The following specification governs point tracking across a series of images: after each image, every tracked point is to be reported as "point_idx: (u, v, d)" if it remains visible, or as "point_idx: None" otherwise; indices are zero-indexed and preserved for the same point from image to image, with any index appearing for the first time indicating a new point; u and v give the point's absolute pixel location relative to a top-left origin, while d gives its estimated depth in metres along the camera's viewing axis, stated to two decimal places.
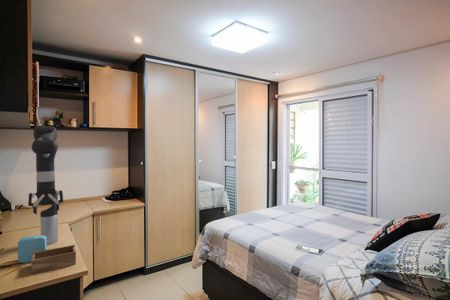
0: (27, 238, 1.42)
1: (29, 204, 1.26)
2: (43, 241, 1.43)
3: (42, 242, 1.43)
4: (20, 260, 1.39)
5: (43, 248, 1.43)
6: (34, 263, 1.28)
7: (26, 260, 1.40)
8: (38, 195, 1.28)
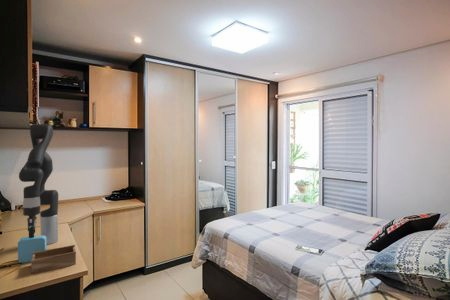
0: (27, 238, 1.42)
1: (33, 228, 1.37)
2: (43, 241, 1.43)
3: (42, 242, 1.43)
4: (20, 260, 1.39)
5: (43, 248, 1.43)
6: (34, 263, 1.28)
7: (26, 260, 1.40)
8: (33, 219, 1.40)
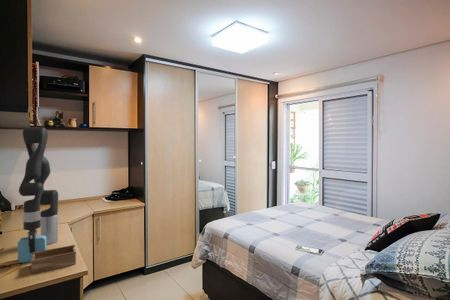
0: (27, 238, 1.42)
1: (34, 243, 1.39)
2: (43, 241, 1.43)
3: (42, 242, 1.43)
4: (20, 260, 1.39)
5: (43, 248, 1.43)
6: (34, 263, 1.28)
7: (26, 260, 1.40)
8: (34, 234, 1.41)
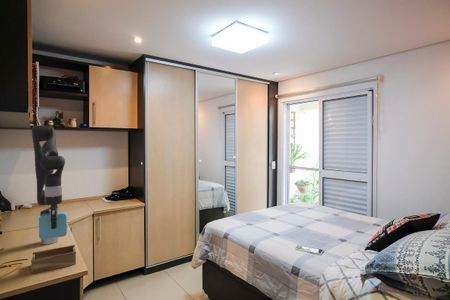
0: (48, 214, 1.36)
1: (56, 219, 1.33)
2: (65, 217, 1.37)
3: (64, 218, 1.37)
4: (41, 236, 1.33)
5: (65, 224, 1.37)
6: (34, 263, 1.28)
7: (47, 236, 1.34)
8: (56, 210, 1.35)
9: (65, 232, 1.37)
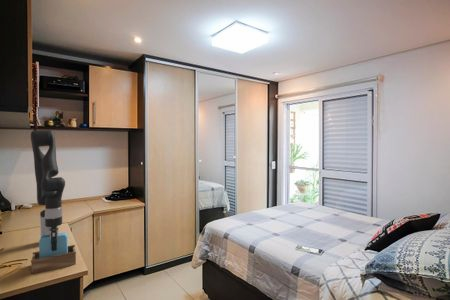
0: (48, 235, 1.36)
1: (56, 241, 1.33)
2: (65, 238, 1.37)
3: (64, 239, 1.37)
4: None
5: (65, 246, 1.37)
6: (34, 263, 1.28)
7: None
8: (56, 232, 1.35)
9: None
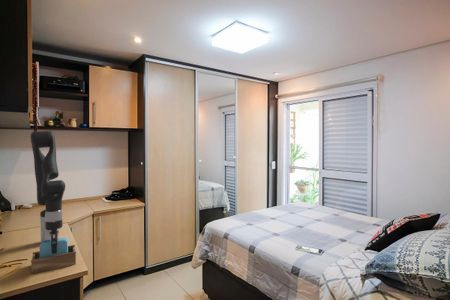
0: (49, 240, 1.36)
1: (56, 243, 1.32)
2: (65, 243, 1.38)
3: (64, 244, 1.37)
4: None
5: (65, 251, 1.38)
6: (34, 263, 1.28)
7: None
8: (56, 234, 1.35)
9: None
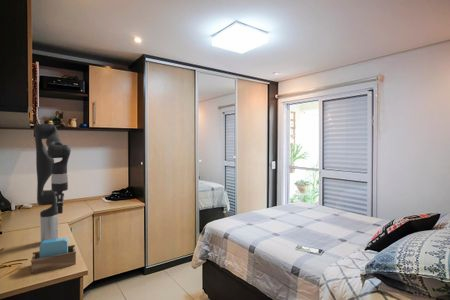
0: (49, 241, 1.36)
1: (62, 204, 1.38)
2: (65, 243, 1.38)
3: (64, 244, 1.37)
4: None
5: (65, 251, 1.38)
6: (34, 263, 1.28)
7: None
8: None
9: None
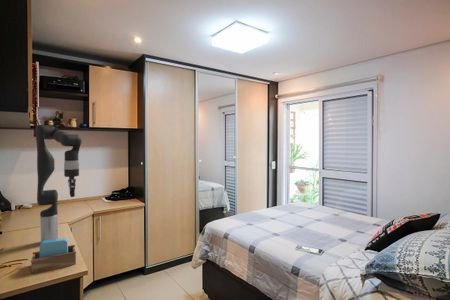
0: (49, 241, 1.36)
1: (74, 188, 1.51)
2: (65, 243, 1.38)
3: (64, 244, 1.37)
4: None
5: (65, 251, 1.38)
6: (34, 263, 1.28)
7: None
8: None
9: None
